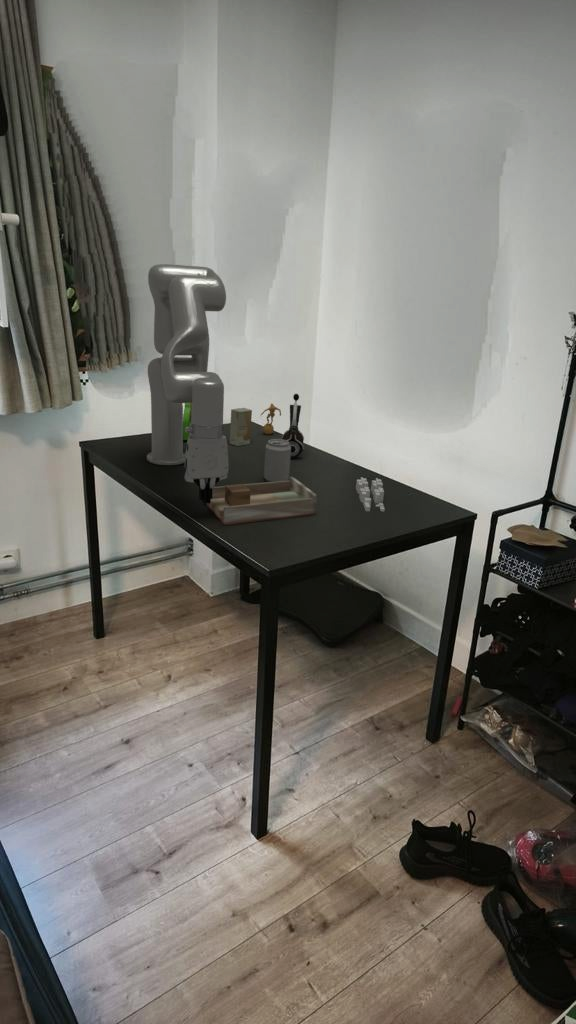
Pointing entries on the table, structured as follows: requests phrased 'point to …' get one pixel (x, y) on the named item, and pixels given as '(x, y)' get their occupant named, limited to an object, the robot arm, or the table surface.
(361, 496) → the modular blocks
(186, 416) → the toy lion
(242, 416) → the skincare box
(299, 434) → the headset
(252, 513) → the trap box
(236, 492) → the walnut block
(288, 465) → the can
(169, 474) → the table surface
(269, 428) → the figurine
